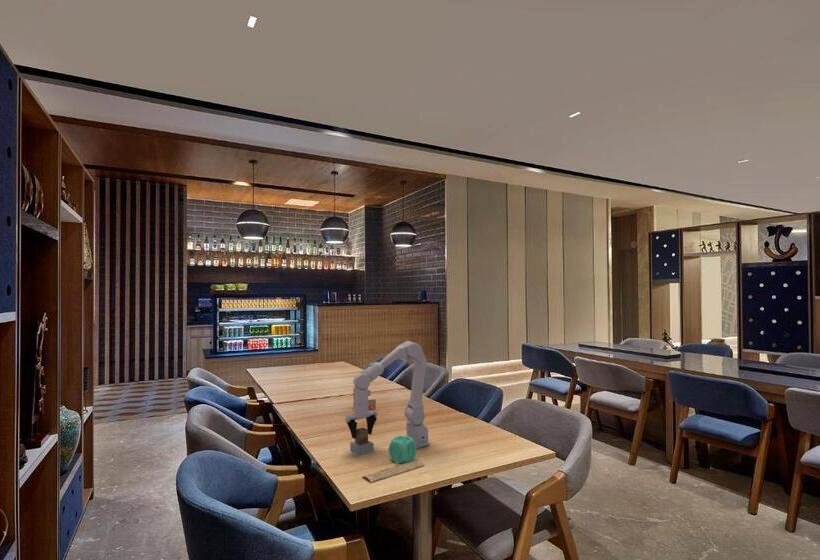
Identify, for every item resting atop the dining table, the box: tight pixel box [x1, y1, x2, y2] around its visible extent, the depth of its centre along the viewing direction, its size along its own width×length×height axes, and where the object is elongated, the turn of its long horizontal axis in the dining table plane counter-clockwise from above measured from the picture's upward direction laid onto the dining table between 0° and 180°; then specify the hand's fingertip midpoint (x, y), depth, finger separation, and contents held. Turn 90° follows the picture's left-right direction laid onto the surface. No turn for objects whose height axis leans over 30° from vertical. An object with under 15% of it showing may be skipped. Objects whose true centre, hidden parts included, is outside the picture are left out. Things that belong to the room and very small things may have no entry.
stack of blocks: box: [352, 386, 377, 411], centre depth 237 cm, size 21×6×12 cm, turn 24°
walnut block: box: [354, 426, 369, 445], centre depth 177 cm, size 4×4×6 cm
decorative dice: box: [388, 435, 418, 464], centre depth 167 cm, size 8×8×8 cm
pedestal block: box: [349, 440, 375, 456], centre depth 177 cm, size 7×7×4 cm
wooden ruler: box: [361, 459, 425, 484], centre depth 156 cm, size 24×7×2 cm, turn 127°
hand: (361, 435), depth 177 cm, fingers open, 7 cm apart
